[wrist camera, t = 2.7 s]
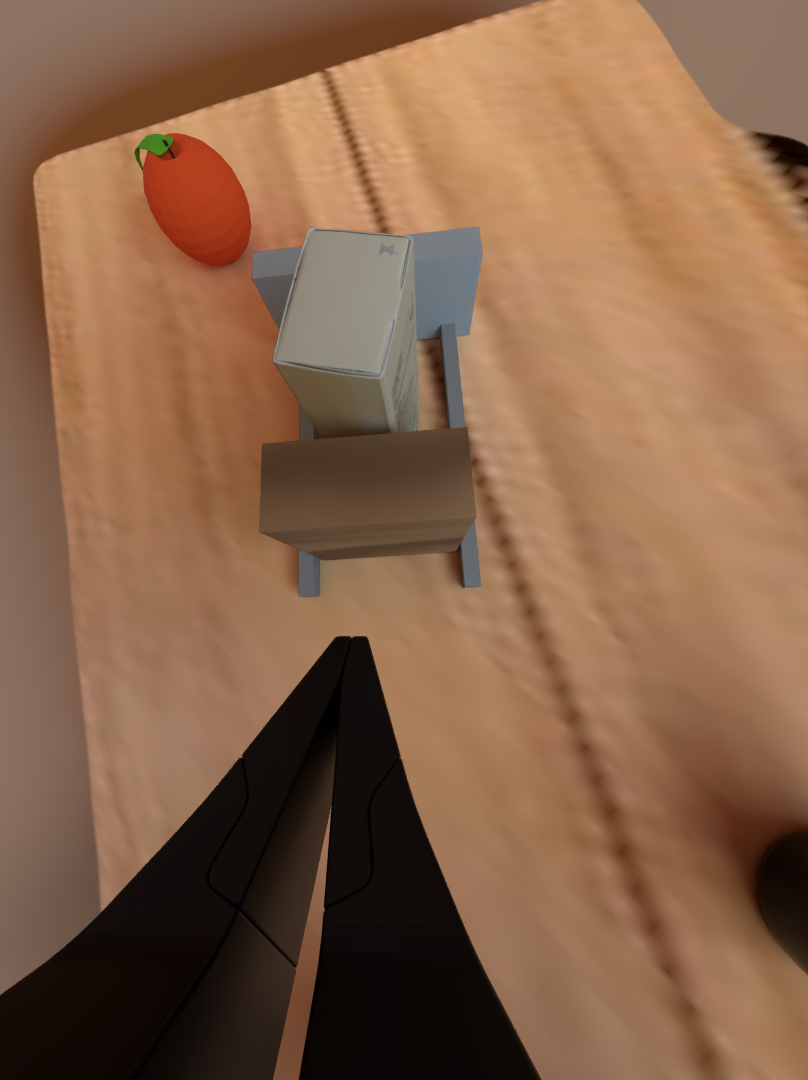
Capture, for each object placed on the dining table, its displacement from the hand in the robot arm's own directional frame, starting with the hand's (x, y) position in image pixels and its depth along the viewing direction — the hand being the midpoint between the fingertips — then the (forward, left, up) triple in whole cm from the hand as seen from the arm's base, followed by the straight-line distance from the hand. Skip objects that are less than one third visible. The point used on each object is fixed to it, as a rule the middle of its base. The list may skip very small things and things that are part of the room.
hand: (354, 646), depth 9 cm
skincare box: (+11, +5, -13) cm, 18 cm away
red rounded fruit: (+23, +26, -13) cm, 37 cm away
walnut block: (+6, +3, -13) cm, 14 cm away
